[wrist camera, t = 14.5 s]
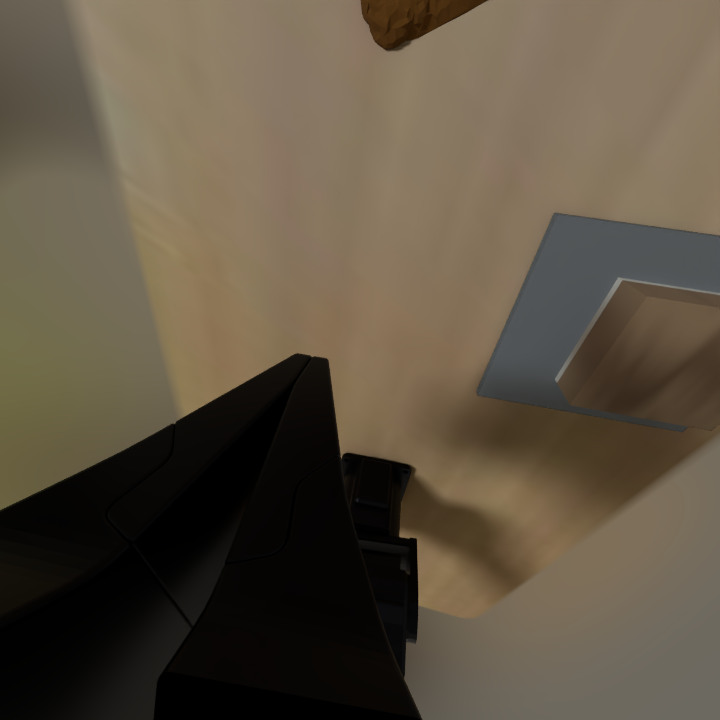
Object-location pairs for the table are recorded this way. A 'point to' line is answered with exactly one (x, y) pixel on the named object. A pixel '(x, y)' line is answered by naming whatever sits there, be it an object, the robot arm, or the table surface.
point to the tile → (650, 356)
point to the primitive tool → (410, 17)
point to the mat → (586, 300)
